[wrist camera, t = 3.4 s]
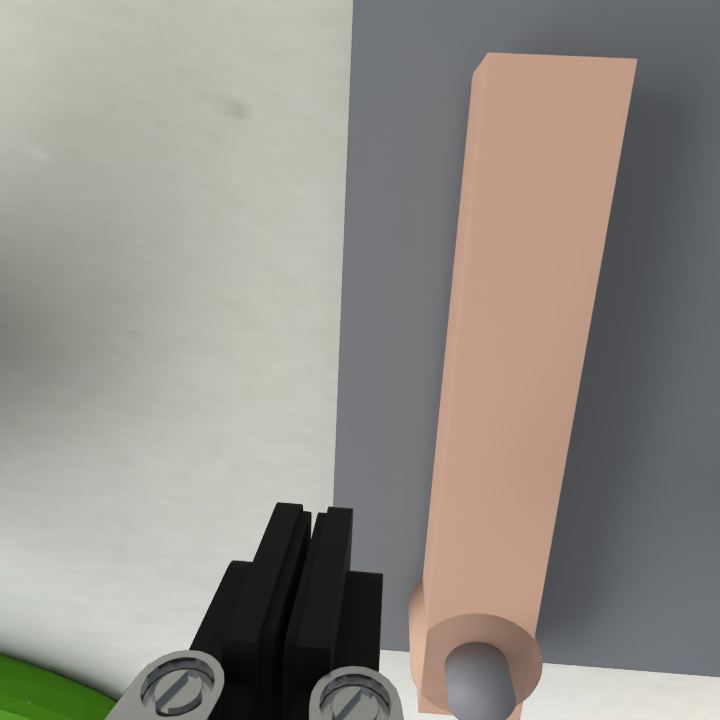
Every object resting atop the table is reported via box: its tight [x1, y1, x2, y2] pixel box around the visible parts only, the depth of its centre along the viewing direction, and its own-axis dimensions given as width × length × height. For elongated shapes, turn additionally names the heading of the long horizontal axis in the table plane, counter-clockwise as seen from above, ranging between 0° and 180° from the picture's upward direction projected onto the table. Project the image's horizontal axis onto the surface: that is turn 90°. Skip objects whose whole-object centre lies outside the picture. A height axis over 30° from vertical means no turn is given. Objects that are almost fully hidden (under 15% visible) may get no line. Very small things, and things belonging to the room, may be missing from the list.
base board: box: [333, 0, 720, 677], centre depth 22 cm, size 27×20×2 cm
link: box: [408, 52, 637, 720], centre depth 19 cm, size 24×5×4 cm, turn 177°
